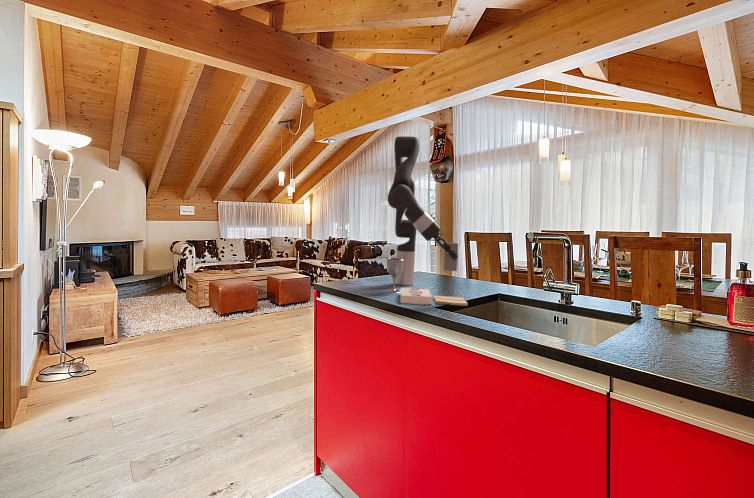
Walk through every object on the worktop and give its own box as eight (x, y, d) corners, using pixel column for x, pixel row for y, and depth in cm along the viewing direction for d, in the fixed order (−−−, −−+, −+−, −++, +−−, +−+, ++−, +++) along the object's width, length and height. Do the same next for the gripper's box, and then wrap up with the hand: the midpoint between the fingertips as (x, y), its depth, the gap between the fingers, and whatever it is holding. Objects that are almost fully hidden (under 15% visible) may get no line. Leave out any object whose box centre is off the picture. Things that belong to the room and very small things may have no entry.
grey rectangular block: (442, 269, 152) (444, 242, 151) (455, 269, 152) (456, 243, 151) (443, 270, 148) (445, 242, 147) (456, 271, 148) (458, 243, 147)
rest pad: (433, 297, 158) (433, 295, 158) (462, 299, 157) (462, 297, 157) (436, 304, 145) (436, 301, 145) (467, 305, 144) (467, 303, 144)
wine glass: (382, 290, 171) (383, 257, 170) (397, 289, 175) (399, 257, 174) (390, 293, 164) (391, 259, 163) (405, 292, 167) (407, 259, 166)
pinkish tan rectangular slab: (400, 294, 162) (400, 287, 162) (428, 296, 161) (428, 288, 161) (400, 302, 144) (400, 294, 144) (431, 304, 143) (431, 296, 143)
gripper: (435, 220, 142) (465, 253, 142) (432, 220, 156) (459, 250, 156) (420, 233, 143) (450, 266, 143) (419, 232, 157) (446, 262, 157)
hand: (455, 257), depth 150 cm, fingers closed on grey rectangular block, 4 cm apart
